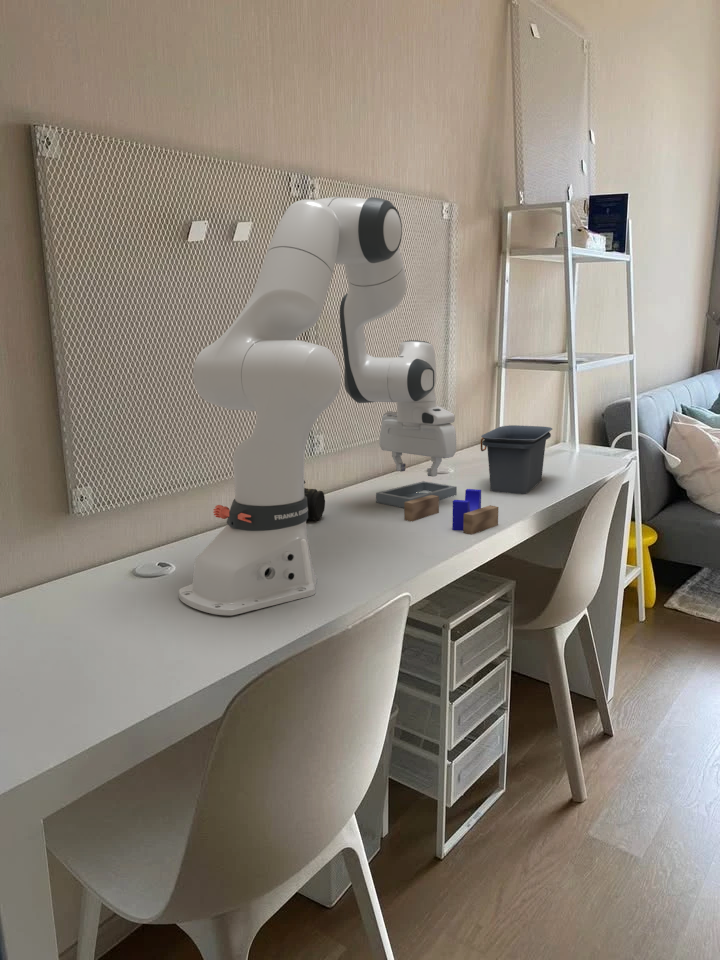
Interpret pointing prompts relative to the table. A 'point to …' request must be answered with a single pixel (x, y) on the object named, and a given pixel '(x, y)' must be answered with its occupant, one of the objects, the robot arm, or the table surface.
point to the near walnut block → (480, 519)
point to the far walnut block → (421, 507)
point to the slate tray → (414, 493)
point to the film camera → (314, 503)
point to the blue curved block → (465, 507)
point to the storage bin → (515, 457)
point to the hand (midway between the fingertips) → (416, 473)
